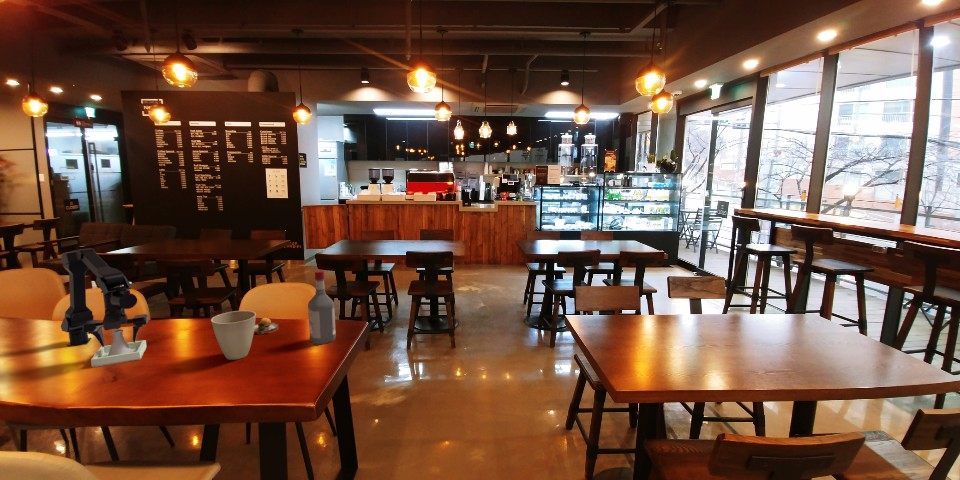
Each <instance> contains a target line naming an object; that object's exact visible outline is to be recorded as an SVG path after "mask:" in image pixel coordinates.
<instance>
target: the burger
mask: <svg viewBox="0 0 960 480" xmlns="http://www.w3.org/2000/svg"><path fill="white" fill-rule="evenodd" d="M278 330H279V324H278V323H277V322H272V321H271V319H270V318H269V317H263V318H261V319H260V322H258V323H257V324H255V328H254V334H253V335H256V334H257V335H259V334H261V335H264V334H270V333H274V332H276V331H278Z"/></svg>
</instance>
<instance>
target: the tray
mask: <svg viewBox="0 0 960 480" xmlns="http://www.w3.org/2000/svg"><path fill="white" fill-rule="evenodd" d="M126 343H127V344H128V346H129V347H130V349H131V350H132V353H125V354H119V355H112V356H108V354H109V351H110V348H111V345H112V344H110V345H105V346H104V347H102V345H100V347H99V349H98V350H97V351H96V352H95V354H94V355H93V357H91V359H90V363H91V368H98V367H103V366H110V365H116V364H122V363H129V362H133V361H134V362H135V361H141V359H142V357H143V355H144V354H145V353H144V352H145V351H146V349H147V340H146V339H145V340H144V339H143V340H136V341H135V342H133V341H131V342H126Z"/></svg>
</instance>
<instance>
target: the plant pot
mask: <svg viewBox="0 0 960 480" xmlns="http://www.w3.org/2000/svg"><path fill="white" fill-rule="evenodd" d="M256 317H257V313H256V312H254V311H252V310H235V311H234V310H233V311H228V312H225V313H224V312H223V313H221V314H217V315H215V316H213V317H212V318H211V319H210V321H211V324H212V329H213V331H214V335H215V337H216V340H217V344H218V345H219V347H220V350H221V352H222V353H223V355H224V357H225V358H226V359H227V360H230V361H232V360H235V361H236V360H241V359H242V358H245V357H247V356H248V354H249V351H250V350H251V346H252V343H253V337H254V335H255V334H254V328H255V325H256V319H257V318H256Z"/></svg>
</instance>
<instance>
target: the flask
mask: <svg viewBox="0 0 960 480" xmlns="http://www.w3.org/2000/svg"><path fill="white" fill-rule="evenodd" d="M111 333H112V343H111V344H110V345H111V348H110V351H109V354H108V356H112V355H119V354H125V353H132V350H131V349H130V347H129V346H128V344H127V343H128V342H127V341H126V340H125V337H124V335H123V334H124V329H120V328H119V329H113V330H111Z"/></svg>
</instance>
